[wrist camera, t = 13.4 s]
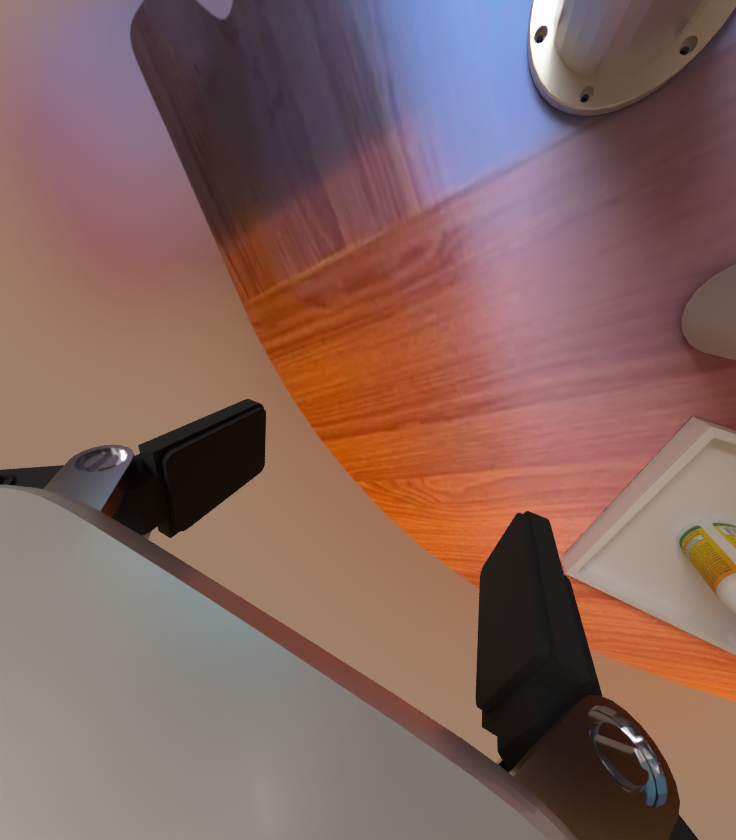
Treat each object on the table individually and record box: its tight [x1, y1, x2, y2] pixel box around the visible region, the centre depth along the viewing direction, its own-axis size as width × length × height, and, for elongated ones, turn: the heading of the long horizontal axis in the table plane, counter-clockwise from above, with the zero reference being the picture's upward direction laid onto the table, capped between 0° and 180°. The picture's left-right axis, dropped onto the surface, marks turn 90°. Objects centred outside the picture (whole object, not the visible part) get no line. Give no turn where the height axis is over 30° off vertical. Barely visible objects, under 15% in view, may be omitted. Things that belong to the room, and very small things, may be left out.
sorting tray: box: [561, 416, 736, 655], centre depth 29 cm, size 22×18×2 cm
